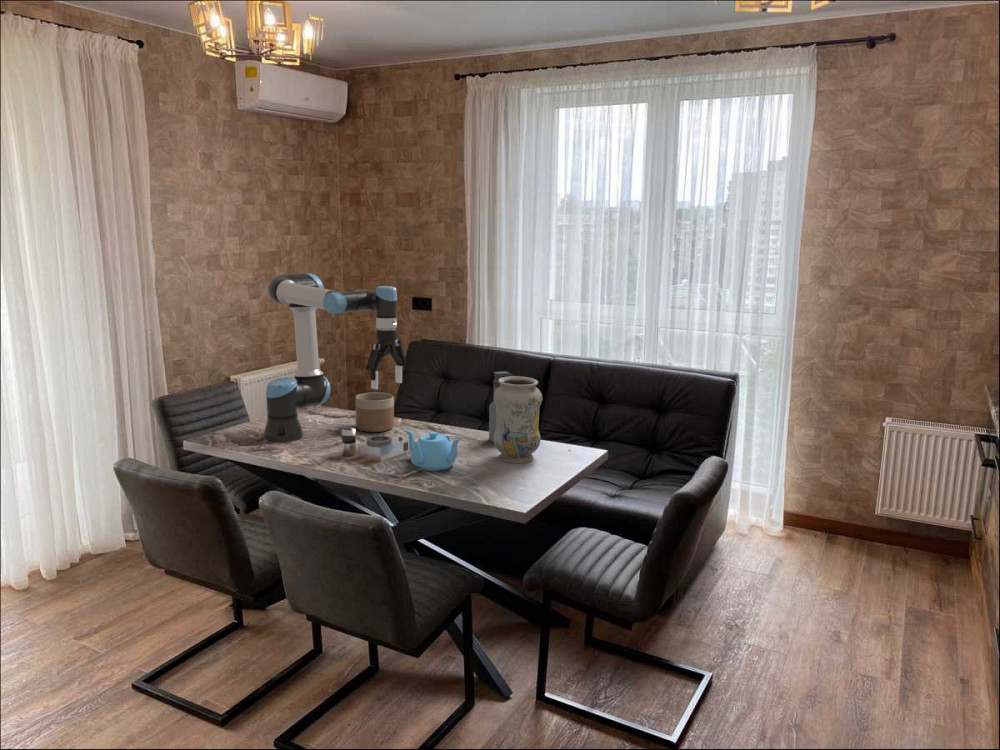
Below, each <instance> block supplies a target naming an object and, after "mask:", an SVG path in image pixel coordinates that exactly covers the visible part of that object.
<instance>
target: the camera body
mask: <svg viewBox="0 0 1000 750" xmlns="http://www.w3.org/2000/svg"><path fill="white" fill-rule="evenodd" d="M357 449H358V457H362V458H366V459H370V460H374V461H378V462H383V461H385V460H388V459H391V458H394V457H397V456H399V455H402V454H405V453H408V452H409V438H408V439H407V438H405V437H404V436H394V435H389V434H384V435H382V434H381V435H379V434H378V435H371V436H368V437H367V438H366V440H364V441H362V442H358V443H357Z"/></svg>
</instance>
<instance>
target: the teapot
mask: <svg viewBox="0 0 1000 750" xmlns="http://www.w3.org/2000/svg"><path fill="white" fill-rule="evenodd" d="M404 431H405V433H407V436H408V449H409V451H410V454H411V455H410V461H411V464H412V465H413V466H414V467H417V468H418V470H420V469H421V470H420V471H425V472H426V471H428V472H440V470H441V471H445V470H447V469H450V468H451V467H452V466H453V465H454V464H455V462H456V459H457V457H458V444H459V442H460V441H461V438H458V439H454V440H453V441H452V443H451V437H450V435H448V434H445V433H444V434H438V432H436V431H429V432H428V434H425V435H422V436H420V437H419V439H418V440H417V441H416V440H415V436H414V433H413V432H412V431H411V430H410V429H407V428H404Z"/></svg>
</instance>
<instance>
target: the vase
mask: <svg viewBox="0 0 1000 750" xmlns="http://www.w3.org/2000/svg"><path fill="white" fill-rule="evenodd" d="M498 382H499V384H500V387H498V388H497V389H496V391H495V393H494V392H493V401H494V402H495V405H496V430H495V433H494V436H493V441H494V442H493V445H494V446H495V448H496V449H497V451H498V452H499V453H500V454H499V456H498V458H499V459H500V461H503V462H506V463H511V464H524V463H530V462H532V461H533V460H534V459H535V458H534V455H533V454H534V453H535V452H536V451H537V450H538V449H539V447H540V444H541V439H542V438H541V434H540V431H539V421H540V408H541V407H540V406H541V405H542V402H543V394H542V392H541V390H540V389H539V388H538V387H537V385H538V384H539V381H538V380H537V379H535V378H532V377H527V376H519V375H517V376H516V375H514V376H502V378H500V379H499V380H498Z"/></svg>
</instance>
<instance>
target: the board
mask: <svg viewBox="0 0 1000 750" xmlns="http://www.w3.org/2000/svg"><path fill="white" fill-rule="evenodd" d="M408 454H411V451H410V452H409V451H408V453H405V454H402V455H399V456H397V457H394V458H391V459H388V460H385V461H383V462H378V461H374V460H370V459H366V458H362V457H358V448H356V456H353V457H344V456H342V453H340V454H338V455H335V457H337V458H341V459H344V460H349V461H353V462H357V463H360V464H365V465H369V466H372V467H375V466H378V465H381V464H383V463H386V462H388V461H392V460H394V459H397V458H400V457H403V456H406V455H408Z"/></svg>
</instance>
